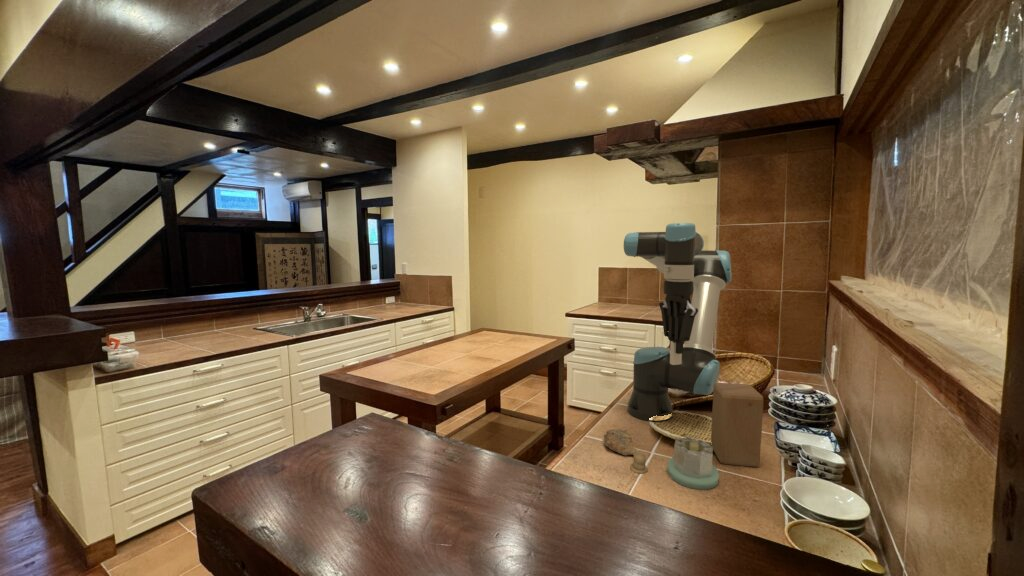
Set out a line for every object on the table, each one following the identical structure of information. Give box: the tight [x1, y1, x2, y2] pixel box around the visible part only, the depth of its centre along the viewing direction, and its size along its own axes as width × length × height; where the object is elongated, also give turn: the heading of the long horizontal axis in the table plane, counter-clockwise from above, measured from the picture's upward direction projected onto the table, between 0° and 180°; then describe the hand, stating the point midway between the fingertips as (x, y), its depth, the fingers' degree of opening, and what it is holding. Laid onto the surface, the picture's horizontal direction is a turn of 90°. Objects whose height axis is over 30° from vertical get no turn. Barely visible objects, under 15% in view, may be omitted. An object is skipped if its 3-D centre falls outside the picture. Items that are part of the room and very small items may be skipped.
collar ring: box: [673, 436, 714, 479], centre depth 102 cm, size 9×9×6 cm
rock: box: [603, 428, 638, 456], centre depth 117 cm, size 9×6×10 cm
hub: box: [667, 450, 720, 491], centre depth 102 cm, size 12×12×6 cm
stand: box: [630, 451, 649, 475], centre depth 106 cm, size 4×4×4 cm
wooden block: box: [710, 382, 764, 468], centre depth 110 cm, size 10×10×20 cm
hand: (675, 363), depth 111 cm, fingers closed
